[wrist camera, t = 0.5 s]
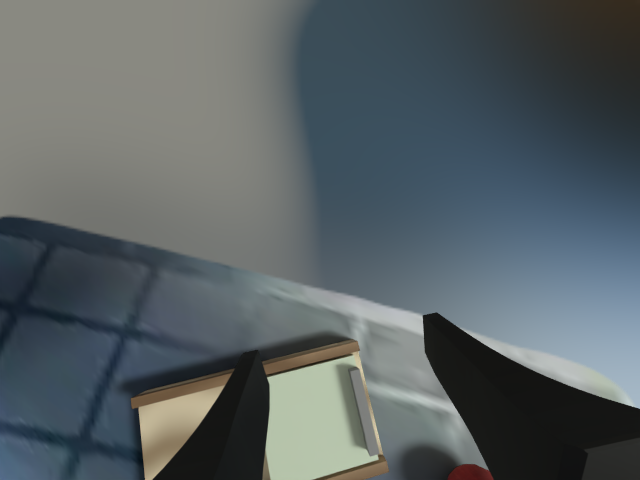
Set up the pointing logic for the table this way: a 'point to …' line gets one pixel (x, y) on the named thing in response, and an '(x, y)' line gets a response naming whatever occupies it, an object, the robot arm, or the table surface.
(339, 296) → the table surface
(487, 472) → the onion
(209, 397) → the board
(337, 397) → the lid
